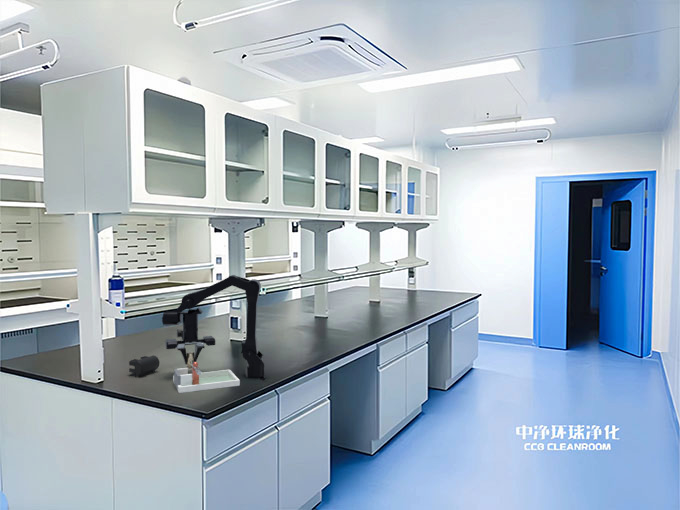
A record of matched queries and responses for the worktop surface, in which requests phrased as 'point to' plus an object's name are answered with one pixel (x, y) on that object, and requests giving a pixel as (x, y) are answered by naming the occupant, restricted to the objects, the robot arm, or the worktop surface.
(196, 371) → the cylinder
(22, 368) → the worktop surface
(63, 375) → the worktop surface
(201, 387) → the pitch
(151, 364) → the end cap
